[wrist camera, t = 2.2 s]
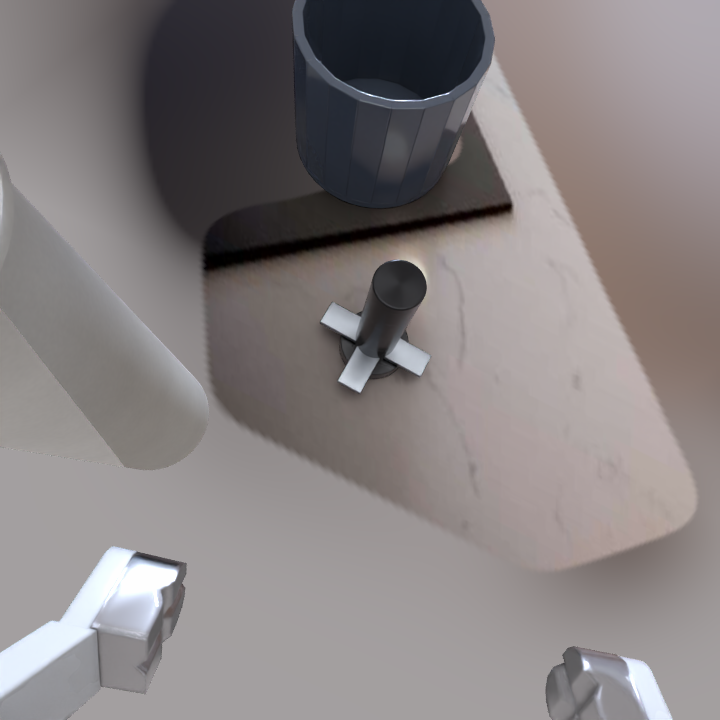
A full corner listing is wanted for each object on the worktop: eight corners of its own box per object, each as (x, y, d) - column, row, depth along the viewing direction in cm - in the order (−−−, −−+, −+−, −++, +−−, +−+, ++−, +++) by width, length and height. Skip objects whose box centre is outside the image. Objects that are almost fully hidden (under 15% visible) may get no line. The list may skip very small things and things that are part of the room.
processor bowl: (263, 127, 36) (249, 3, 27) (378, 55, 39) (400, -79, 30) (368, 237, 35) (389, 145, 25) (479, 153, 38) (534, 44, 28)
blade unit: (297, 366, 32) (293, 309, 22) (350, 278, 34) (368, 191, 24) (395, 420, 31) (434, 386, 22) (442, 328, 33) (498, 260, 24)
